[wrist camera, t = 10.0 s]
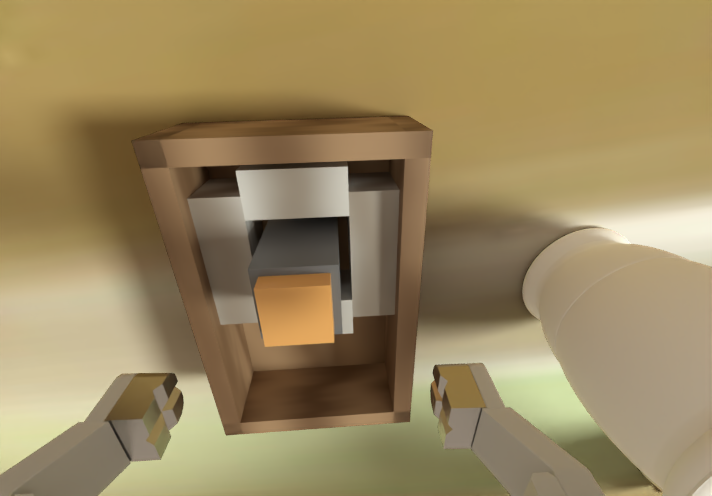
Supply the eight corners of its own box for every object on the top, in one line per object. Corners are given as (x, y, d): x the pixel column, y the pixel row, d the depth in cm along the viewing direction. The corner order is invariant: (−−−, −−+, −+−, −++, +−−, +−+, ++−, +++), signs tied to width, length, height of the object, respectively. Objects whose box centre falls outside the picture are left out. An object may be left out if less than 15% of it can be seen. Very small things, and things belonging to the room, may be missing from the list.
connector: (336, 207, 21) (339, 276, 14) (339, 263, 23) (343, 348, 16) (272, 210, 21) (242, 281, 14) (280, 266, 23) (257, 353, 16)
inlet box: (408, 115, 20) (432, 130, 15) (396, 363, 29) (409, 421, 24) (182, 123, 19) (131, 140, 14) (244, 373, 29) (226, 435, 24)
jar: (603, 332, 29) (831, 552, 16) (489, 326, 28) (632, 557, 15) (670, 218, 24) (1080, 397, 11) (536, 205, 23) (813, 387, 10)
